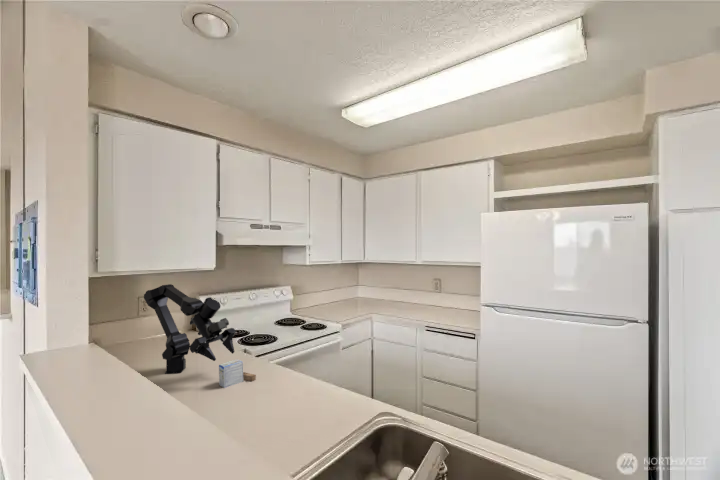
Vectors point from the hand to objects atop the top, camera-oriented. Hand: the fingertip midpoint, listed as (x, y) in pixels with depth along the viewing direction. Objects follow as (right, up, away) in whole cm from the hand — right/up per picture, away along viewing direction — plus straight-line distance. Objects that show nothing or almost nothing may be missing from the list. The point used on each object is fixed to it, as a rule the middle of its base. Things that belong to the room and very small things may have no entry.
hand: (224, 356), depth 131 cm
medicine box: (+3, -11, -2) cm, 11 cm away
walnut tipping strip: (+6, -11, +4) cm, 13 cm away
